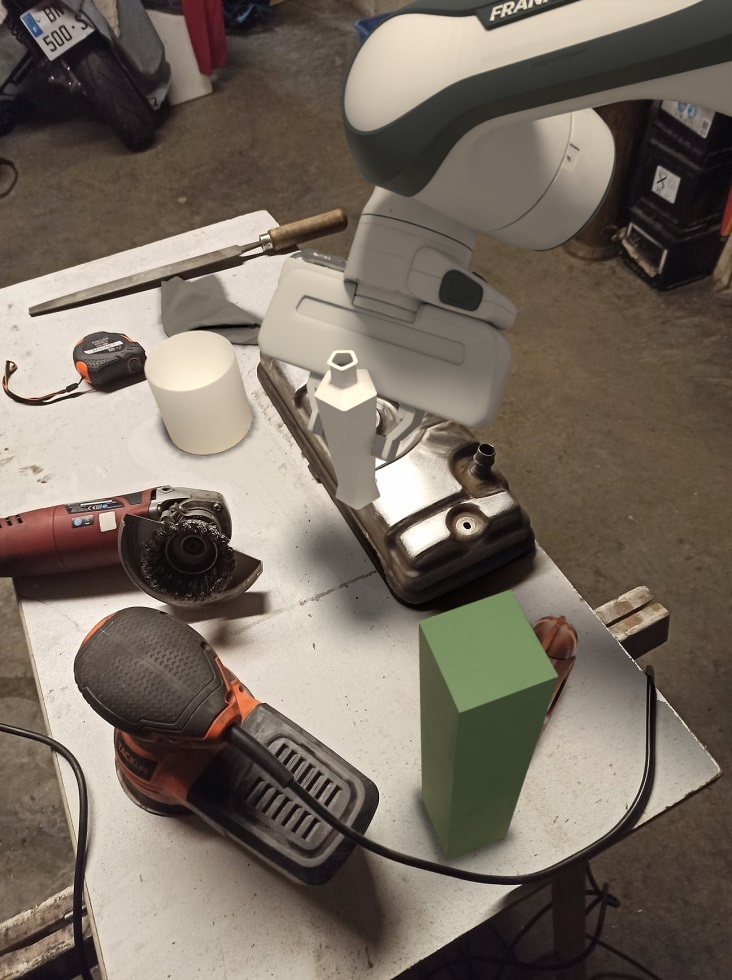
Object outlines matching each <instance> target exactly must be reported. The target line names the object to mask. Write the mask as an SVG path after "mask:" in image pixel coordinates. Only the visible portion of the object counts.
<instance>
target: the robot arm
mask: <svg viewBox="0 0 732 980" xmlns="http://www.w3.org/2000/svg"><path fill="white" fill-rule="evenodd" d="M340 98H341V99H340V107H341V108H340V109H341V117H342V124H343V128H344V129H343V130H344V134H345V137H346V141H347V145H348V147H349V151H350V154H351V157H352V159H353V161H354V164H355V166H356V168H357V171H358V173H359V175H360V176H361V178H362V179H363V180H364V181H365V182H366V183H368V184H371V185H373V186H374V189H373V191H372V194H371V196H370V197H369V199H368V200H367V203H366V204H365V206H363V209H362V212H361V214H360V217H359V221H358V223H357V226H356V231H355V234H354V238H353V241H352V245H351V248H350V251H349V254H348V257H344V256H340V255H337V254H330V253H326V252H325V253H324V252H322V251H320V250H318V249H315V248H308V247H307V248H306V247H305V248H303V250H301V251H297V252H294V253H293V254H291V255H290V256H289V257H287V258H286V259H285V260H284V261H283V264H282V267H281V271H280V274H279V277H278V282H277V287H276V289H275V291H274V293H273V295H272V297H271V300H270V302H269V305H268V306H267V309H266V312H265V314H264V317H263V319H262V320H263V322H262V325H261V326H260V328H259V329H260V330H259V334H258V338H257V341H258V344H257V345H258V348H259V352H260V354H261V355H262V356H263V357H266V358H267V357H268V358H269V359H273V360H276V361H279V362H281V363H284V364H287V365H290V366H293V367H296V368H299V369H302V370H305V371H307V372H309V374H308V378H307V382H306V385H305V386H306V391H307V396H308V400H309V406H310V410H311V414H310V417H309V420H308V424H307V432H308V433H311V434H313V435H315V436H318V437H321V438H326V437H325V433H324V429H323V425H322V422H321V418H320V414H319V410H318V407H317V403H316V399H315V396H314V394H315V392H316V390H317V389H318V387H319V385H320V383H321V382H322V380H323V378H324V376H325V375H326V373H327V371H329V370H330V366H329V365H328V364H327V362H328V360H329V358H330V356H331V355H332V353H333V352H334V351H338V350H352V351H353V352H354V353H355V356H356V358H357V360H358V363H357V364H356V369H366V370H367V371H368V373H369V375H370V378H371V380H372V382H373V385H374V387H375V389H376V392H377V396H379V397H381V398H384V399H387V400H390V401H393V402H396V403H399V406H398V409H397V412H396V415H395V416H396V418H397V419H399V420H401V421H400V422H399V423H398V424H397V425H396V426H394V428H393V429H391V431H390V432H389V433H388V434H380V433H379V434H378V433H376V436H375V439H374V447H372V449H371V453H370V454H371V456H373V457H375V458H376V459H378V460H380V461H383V462H386V463H392V462H394V460H395V459H396V457H397V454H398V451H399V447H400V444H401V442H402V441H404V440H405V439H406V438H407V437H408V436H410V435H411V434H412V433H413V432H415V430H416V429H418V427H420V426H421V425H422V422H423V419H424V417H425V414H426V413H428V414H430V415H433V416H436V417H438V418H442V419H445V420H447V421H450V422H453V423H455V424H456V423H457V424H458V425H462V426H465V427H468V428H471V429H475V430H476V429H478V430H482V429H485V428H486V427H489V426H490V425H491V424H493V423H494V422H495V421H496V419H497V417H498V415H499V412H500V409H501V407H502V403H503V399H504V396H505V392H506V389H507V384H508V380H509V375H510V369H511V363H512V346H511V342H510V341H509V338H508V337H507V336H506V335H505V334H504V333H503V332H507V331H509V330H511V328H512V327H513V326H514V325H515V322H516V319H517V316H518V308H517V306H516V305H515V303H514V302H513V301H512V300H511V299H510V298H509V297H508V296H506V295H505V294H504V293H502V291H500V290H498V289H497V288H496V287H494V286H493V285H491V284H489V282H488V279H485V278H484V277H483V276H482V275H480V274H479V273H477V272H475V271H470V269H469V265H470V262H471V259H472V257H473V253H474V247H475V244H476V241H477V239H478V238H479V237H480V236H482V235H487V236H488V237H490V238H493V239H495V240H496V241H498V242H500V243H503V244H505V245H507V246H510V247H513V248H515V249H520V250H525V251H526V250H528V251H533V252H547V251H551V250H554V249H557V248H559V247H561V246H563V245H565V244H568V242H570V241H571V240H573V239H574V238H576V237H577V236H578V235H580V234H581V233H582V232H583V231H584V230H585V229H586V228H587V227H588V226H589V224H591V222H592V221H593V220H594V219H595V218H596V216H597V215H598V213H599V211H600V210H601V208H602V206H603V205H604V203H605V200H606V198H607V196H608V194H609V192H610V189H611V186H612V183H613V181H614V180H613V179H614V176H615V170H616V164H617V163H616V162H617V145H616V140H615V139H616V138H615V136H614V133H613V130H612V128H610V125H609V124H608V123H607V122H606V121H604V120H603V118H602V117H601V116H600V115H599V114H598V113H597V112H596V111H595V110H594V109H593V108H597V107H602V106H606V105H611V104H615V103H619V102H625V101H635V100H654V101H655V100H658V101H669V102H675V103H683V104H686V105H692V106H696V107H701V108H704V109H707V110H711V111H712V112H713V111H714V112H717V113H719V114H723V115H726V116H728V117H731V118H732V0H416V1H412V2H410V3H408V4H406V5H404V6H402V7H400V8H399V9H397V10H395V11H393V12H392V13H390V14H388V15H387V16H385V17H384V18H383V19H381V21H379V22H378V23H376V25H375V26H374V27H373V28H372V29H371V30H370V31H369V32H368V33H367V34H366V36H365V38H364V39H363V40H362V41H361V43H360V45H359V46H358V47H357V49H356V51H355V53H354V54H353V57H352V58H351V61H350V63H349V65H348V68H347V70H346V74H345V76H344V80H343V83H342V88H341V97H340ZM299 258H301V259H299Z"/></svg>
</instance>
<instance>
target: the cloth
mask: <svg viewBox="0 0 732 980" xmlns="http://www.w3.org/2000/svg"><path fill="white" fill-rule="evenodd" d="M160 282H161V283H160V286H161V289H160V310H161V311H160V312H161V321H162V328H163V331H164V332H165V333H166V335H167V336H168V338H170V337H172V336H174V335H177V334H180V333H184V332H189V331H209V332H213V333H217V334H219V335H221V336H223V337H225V338H226V339H227V340H229V341H230V343H231V344H246V345H247V344H249V345H251V344H252V345H259V344H258V341H257V338H258V334H259V330H260V328H259V327H261V325H262V322H263V319H261V318H259V317H257V316H255V315H254V314H252V313H250V312H248V311H247V310H244V309H243V308H242V307H240V306H238V304H235V303H234V302H232V301H228V300H227V299H226V297H225V292H224V289H223V287H222V286H221V284H220V282H219V280H218V279H217V278H216V276H215V275H214V274H210V275H206V276H204V277H201V278H198V279H196V280H194V281H193V282H192V281H190V280H187V281H186V280H184V279H183V278H182V277H179V276H174V277H172V278H170V279H169V280H167V281H166V280H160ZM258 326H259V327H258Z"/></svg>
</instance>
